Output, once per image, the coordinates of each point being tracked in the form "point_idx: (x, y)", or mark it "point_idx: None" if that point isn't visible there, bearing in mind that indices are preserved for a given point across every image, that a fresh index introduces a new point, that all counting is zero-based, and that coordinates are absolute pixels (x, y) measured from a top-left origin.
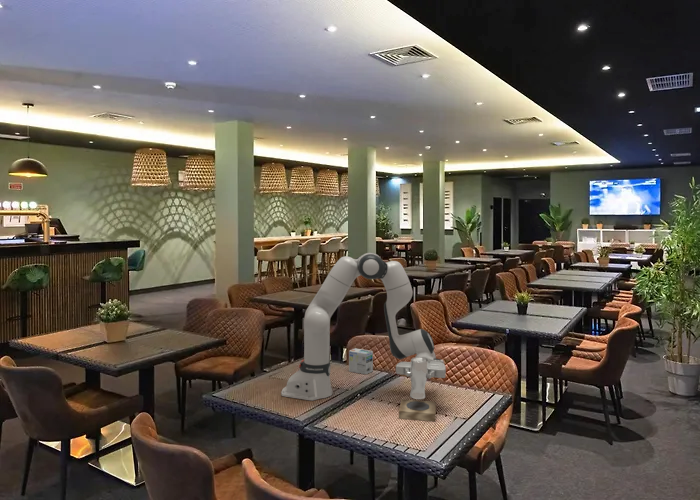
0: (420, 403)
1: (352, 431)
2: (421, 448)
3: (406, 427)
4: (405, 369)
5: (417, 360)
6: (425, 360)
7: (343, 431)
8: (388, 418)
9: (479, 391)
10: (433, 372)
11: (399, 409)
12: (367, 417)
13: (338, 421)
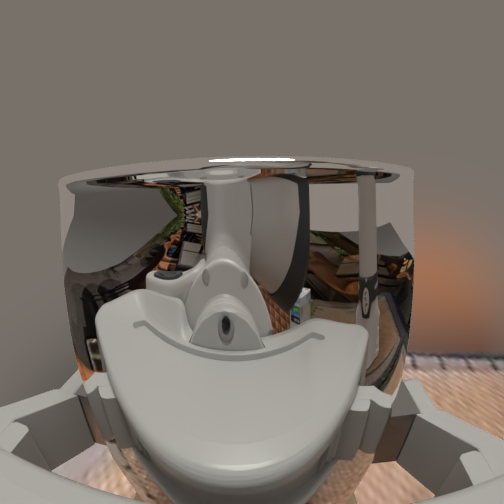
0: None
1: (428, 372)
2: None
3: None
4: (496, 438)
5: (316, 269)
6: (76, 217)
7: (445, 365)
8: (385, 484)
9: None
10: (11, 409)
11: (353, 495)
12: None
13: (500, 395)
